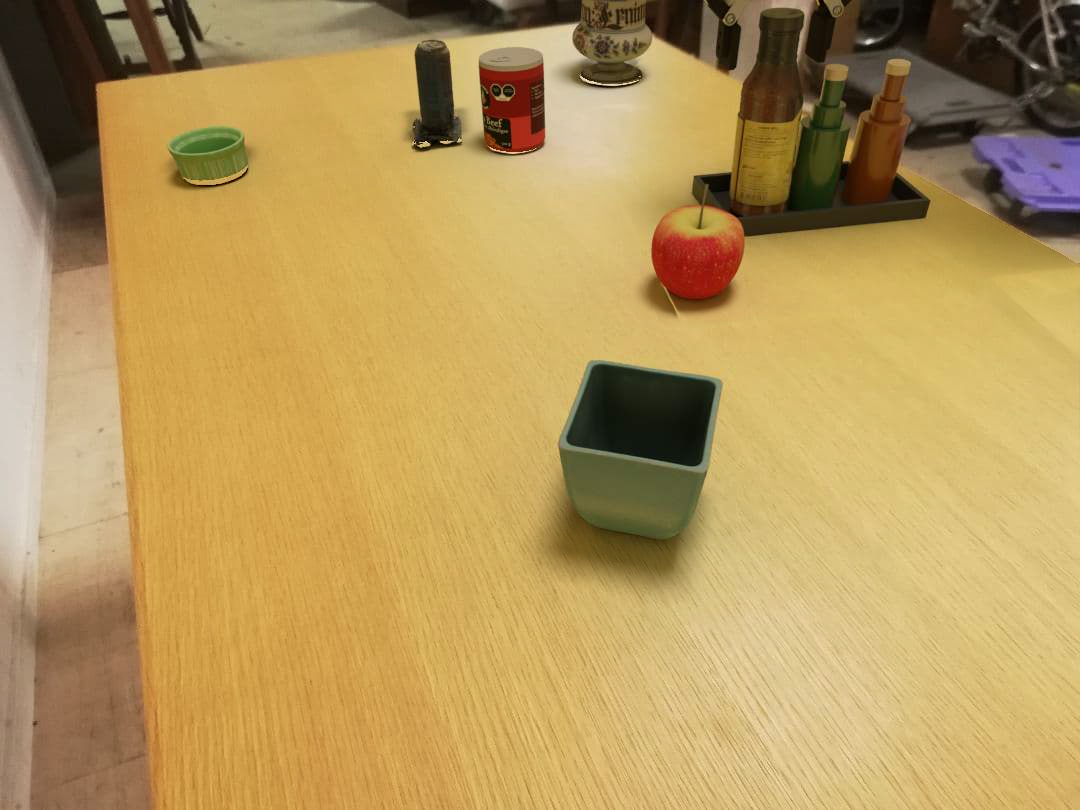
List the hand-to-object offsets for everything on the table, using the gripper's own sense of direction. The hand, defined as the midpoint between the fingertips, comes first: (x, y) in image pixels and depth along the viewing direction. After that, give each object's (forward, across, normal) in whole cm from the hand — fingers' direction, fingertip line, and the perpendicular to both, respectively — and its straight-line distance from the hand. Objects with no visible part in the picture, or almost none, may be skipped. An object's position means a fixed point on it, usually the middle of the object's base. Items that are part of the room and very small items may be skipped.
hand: (771, 61), depth 76 cm
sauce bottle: (+16, +1, 0) cm, 16 cm away
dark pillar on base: (+16, -33, +30) cm, 47 cm away
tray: (+16, +6, 0) cm, 17 cm away
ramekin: (+16, -61, +24) cm, 67 cm away
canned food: (+16, -23, +25) cm, 37 cm away
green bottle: (+16, +7, 0) cm, 17 cm away
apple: (+16, -11, -14) cm, 24 cm away
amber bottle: (+16, +13, 0) cm, 21 cm away
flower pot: (+16, -23, -40) cm, 49 cm away
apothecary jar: (+16, -5, +48) cm, 51 cm away
